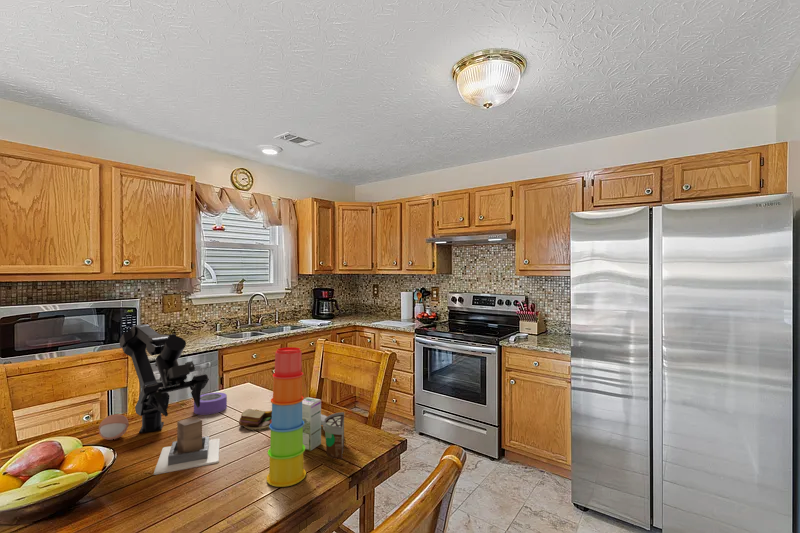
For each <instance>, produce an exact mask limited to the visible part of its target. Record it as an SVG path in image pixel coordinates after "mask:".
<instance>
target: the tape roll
mask: <svg viewBox="0 0 800 533" xmlns="http://www.w3.org/2000/svg"><path fill="white" fill-rule="evenodd" d="M227 396H228V395H227V394H226V392H207V393H203V394H200V406H199V408H197V406H196V404H195V402H194V401H193V413H194V414H196V415H199V416H205V415H206V416H207V415H214V414H218V413H221V412H223V411H225V410H226V409H227V408H228V405H227V403H228V399H227V398H228V397H227Z"/></svg>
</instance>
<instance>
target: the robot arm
mask: <svg viewBox="0 0 800 533" xmlns="http://www.w3.org/2000/svg"><path fill="white" fill-rule="evenodd" d="M186 346H187V342H186V340H185V339H184V338H182V337H181V336H177V334H176V333H172V334H160V333H159V332H157V331H156V330H154V329H153V328H152V327H151V326H150V324H147V323H144V324H143V323H142V324H135V325H132V326H131V328H130V329H129V330H127V331H125V332H123V333H122V335H121V337H120V338H119V347H120V348H121V349H122V351H123V353H124V354H125V355H127V356H129V357H130V358H131V361H132V363H133V366H134V369H135V372H136V375H137V379H138V382H139V384H140V388H141V391H140V393H139V395H138V400H137V402H136V405H135V414H136V415H139V416H140V417H141V427H140V429H139V431H138V433H139V434H142V433H143V432H145V433H149V432H157V431H162V429H163V426H164V424H165V423H164V422H165V421H162V415H163V416H164V417H168V416H169V412H168V409H169V408H168V407H169V403H170V397H171V396H170V394H169V393H170V392H175V391H179V390H183V389H187V388H190V390H191V392H190V394H191V396H192V399H193V403H194V402H195V404H196V406H197V408H199V406H200V395H201V392H202V390H203V389H205V387H206V385H207V384H208V382H209V381H210V380H209V376H208V374H206V373H201V374H195V375H193V377H192V378H191V380H187V378H188V375H191V374H190V373H193V372H194V371H195V369H196V368H195V364H194V362H193V360H192V361H187V362H185V363H184V364H179V362H178V360H179V359H180V357H181V356H182V354H183V351H184V350H185V349H186ZM148 354H149V355H150V356H156V358H155V367H157V369H158V373H159V382H158V381H157V380H156V376H155V373H154V371H153V368H152V364H151V362H150V359H149V356H148ZM185 380H187V381H185ZM143 434H144V433H143Z"/></svg>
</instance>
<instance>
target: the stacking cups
mask: <svg viewBox="0 0 800 533" xmlns="http://www.w3.org/2000/svg"><path fill="white" fill-rule="evenodd" d="M302 355H303V353H302V350H301V348H300V347H295V346H294V347H293V346H290V347H288V346H287V347H280V348H277V349H276V351H275V354H274V373H272V377H273V386H272V388H273V389H272V398H270V403H271V411H272V423H271V424H270V425H269V428H268V429H269V430H270V440H269V441H270V442H269V444H270V447H269V449H267V450H268V451H267V455H268V457H269V470H268V471H269V472H268V474H267V476H266V482H267V484H269V485H270V486H272V487H276V488H283V487H284V488H286V487H290V486H294V485H296V484H299V483H300V482H302V481H303V480H304V479H305V477H306V474H307V471H306V470H305V468H304V452H305V451H306V449H305V446H304V445H303V426H304V421H303V420H302V401H303V400H304V398H305V397H304V396H303V387H302V386H303V377H302V376H304V372H302V366H303V364H302Z"/></svg>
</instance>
